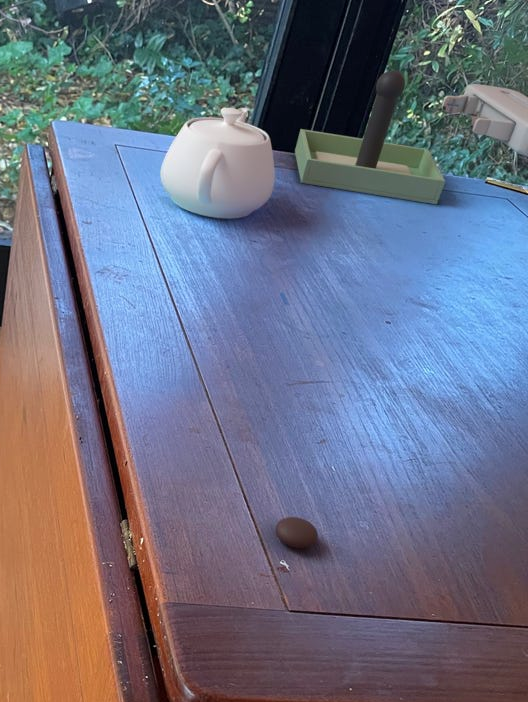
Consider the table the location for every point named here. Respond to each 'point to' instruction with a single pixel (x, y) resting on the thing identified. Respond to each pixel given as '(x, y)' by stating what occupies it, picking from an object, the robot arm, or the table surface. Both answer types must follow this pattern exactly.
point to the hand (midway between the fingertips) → (458, 114)
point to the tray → (414, 186)
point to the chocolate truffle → (296, 532)
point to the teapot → (219, 166)
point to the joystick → (376, 127)
